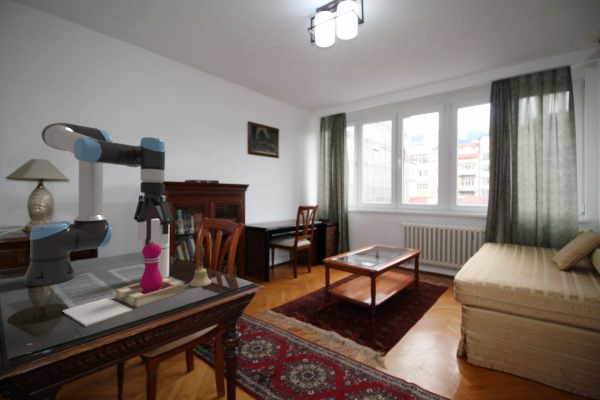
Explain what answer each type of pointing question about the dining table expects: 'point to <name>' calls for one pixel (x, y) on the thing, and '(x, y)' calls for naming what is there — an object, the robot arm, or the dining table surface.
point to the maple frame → (138, 299)
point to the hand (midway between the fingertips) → (152, 241)
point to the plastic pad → (97, 311)
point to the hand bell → (200, 271)
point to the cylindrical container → (164, 255)
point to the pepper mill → (151, 268)
